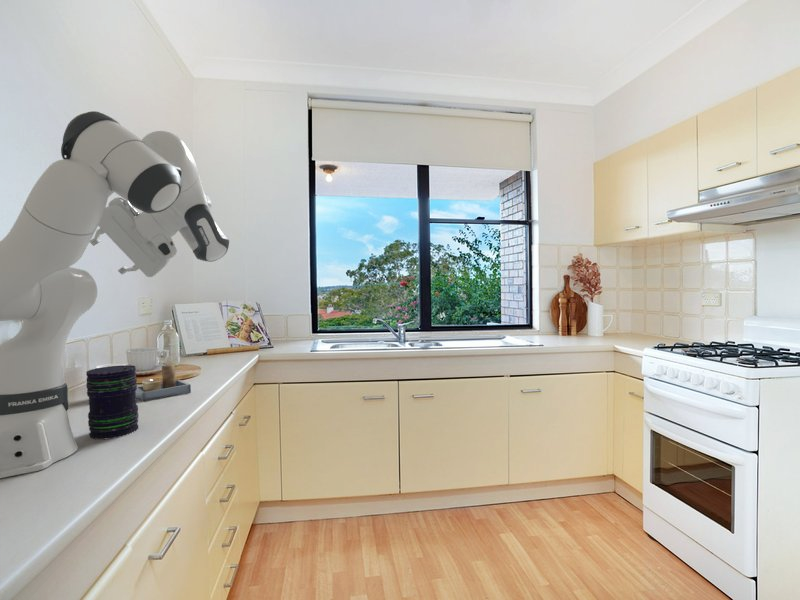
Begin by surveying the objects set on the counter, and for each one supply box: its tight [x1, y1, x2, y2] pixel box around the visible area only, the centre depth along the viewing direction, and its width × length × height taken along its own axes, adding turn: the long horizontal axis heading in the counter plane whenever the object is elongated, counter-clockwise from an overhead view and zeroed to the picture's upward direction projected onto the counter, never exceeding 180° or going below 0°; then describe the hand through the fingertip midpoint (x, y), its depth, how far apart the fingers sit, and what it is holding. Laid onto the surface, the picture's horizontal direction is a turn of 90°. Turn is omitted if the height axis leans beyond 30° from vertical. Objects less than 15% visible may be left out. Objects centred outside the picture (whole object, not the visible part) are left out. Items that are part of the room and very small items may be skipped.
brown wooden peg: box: [161, 364, 176, 389], centre depth 138 cm, size 4×4×8 cm
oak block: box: [142, 379, 162, 392], centre depth 133 cm, size 4×4×4 cm
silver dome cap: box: [141, 378, 154, 385], centre depth 136 cm, size 3×3×4 cm
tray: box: [136, 379, 192, 402], centre depth 137 cm, size 14×11×3 cm
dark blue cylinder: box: [85, 364, 139, 440], centre depth 101 cm, size 10×10×15 cm
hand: (106, 258), depth 112 cm, fingers open, 8 cm apart
